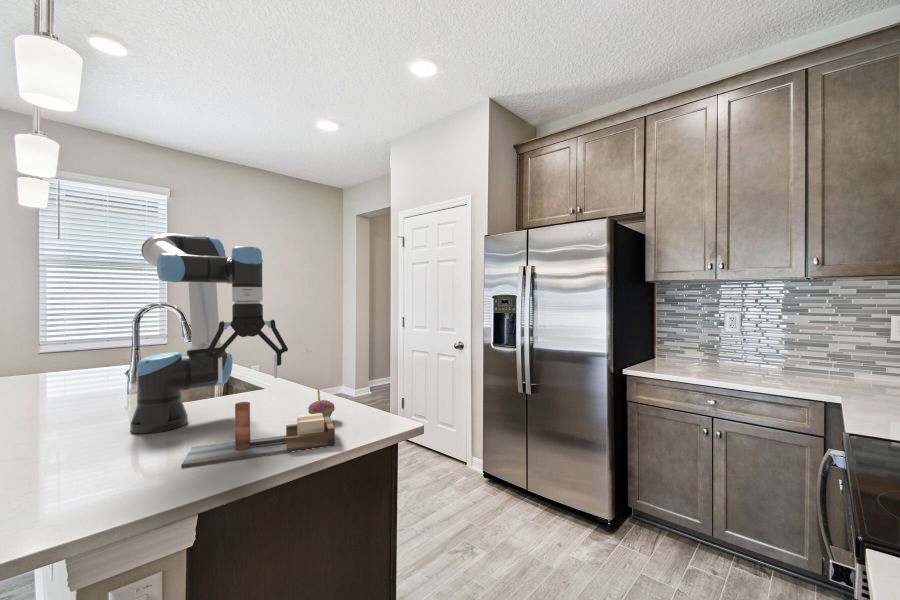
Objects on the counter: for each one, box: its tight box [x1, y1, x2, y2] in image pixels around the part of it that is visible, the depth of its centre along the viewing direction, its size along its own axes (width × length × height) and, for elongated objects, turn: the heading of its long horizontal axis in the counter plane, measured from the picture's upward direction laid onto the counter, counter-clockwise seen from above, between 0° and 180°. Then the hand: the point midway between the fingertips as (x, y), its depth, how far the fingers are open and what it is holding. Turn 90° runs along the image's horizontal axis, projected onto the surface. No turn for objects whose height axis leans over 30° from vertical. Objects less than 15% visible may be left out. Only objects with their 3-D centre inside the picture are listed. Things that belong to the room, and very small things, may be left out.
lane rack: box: [180, 416, 336, 468], centre depth 111 cm, size 12×37×5 cm, turn 113°
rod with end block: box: [234, 401, 324, 450], centre depth 112 cm, size 7×23×12 cm, turn 113°
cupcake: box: [307, 388, 336, 418], centre depth 134 cm, size 9×8×12 cm
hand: (248, 379), depth 110 cm, fingers open, 13 cm apart
